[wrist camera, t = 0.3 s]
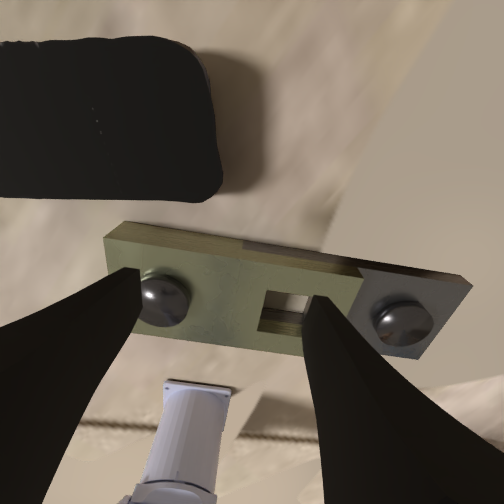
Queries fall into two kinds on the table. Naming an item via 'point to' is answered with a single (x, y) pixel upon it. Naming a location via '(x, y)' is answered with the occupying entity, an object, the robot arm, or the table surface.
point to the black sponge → (106, 121)
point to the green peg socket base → (275, 279)
